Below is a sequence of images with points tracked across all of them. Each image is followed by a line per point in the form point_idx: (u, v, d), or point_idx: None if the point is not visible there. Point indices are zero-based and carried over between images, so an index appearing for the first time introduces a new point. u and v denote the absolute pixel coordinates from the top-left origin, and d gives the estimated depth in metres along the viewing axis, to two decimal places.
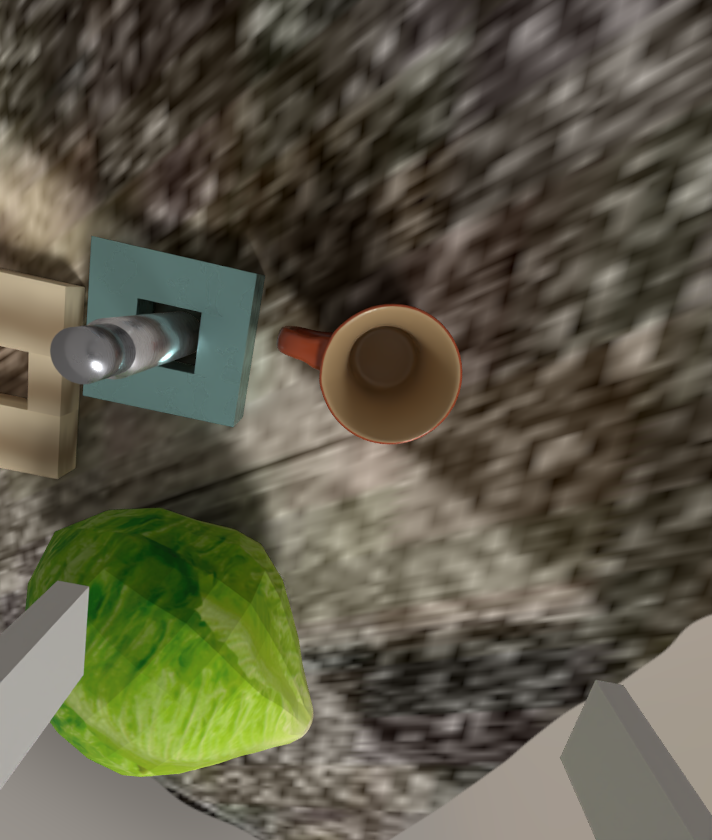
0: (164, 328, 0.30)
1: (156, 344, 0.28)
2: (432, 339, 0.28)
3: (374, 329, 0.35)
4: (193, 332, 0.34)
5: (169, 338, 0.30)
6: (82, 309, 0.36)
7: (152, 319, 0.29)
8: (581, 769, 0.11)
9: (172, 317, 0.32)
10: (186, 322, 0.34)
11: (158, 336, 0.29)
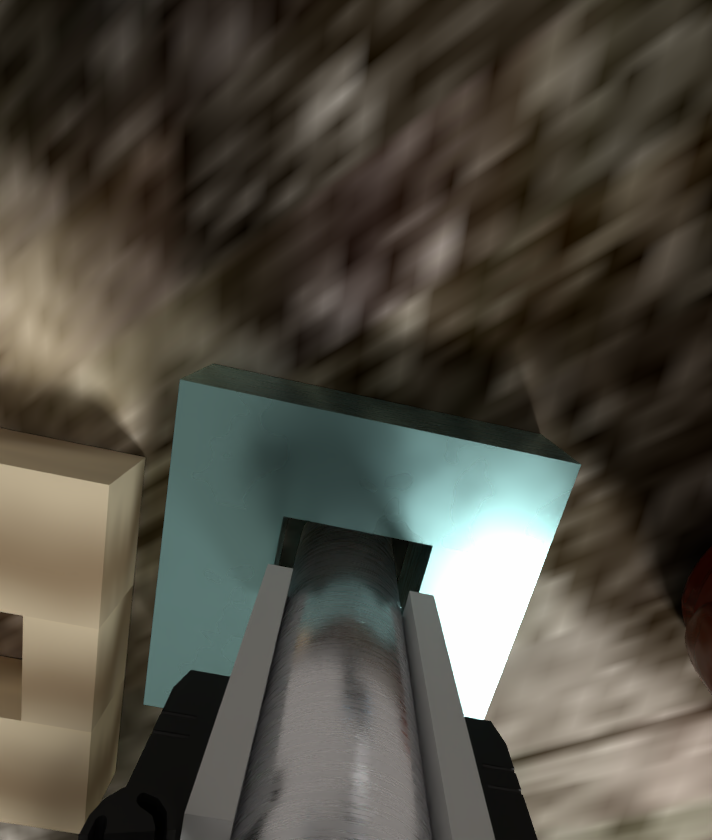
0: (403, 667, 0.11)
1: None
2: None
3: None
4: (395, 571, 0.15)
5: (410, 683, 0.11)
6: (138, 502, 0.17)
7: (379, 657, 0.10)
8: None
9: (375, 572, 0.13)
10: (387, 557, 0.15)
11: (417, 737, 0.09)
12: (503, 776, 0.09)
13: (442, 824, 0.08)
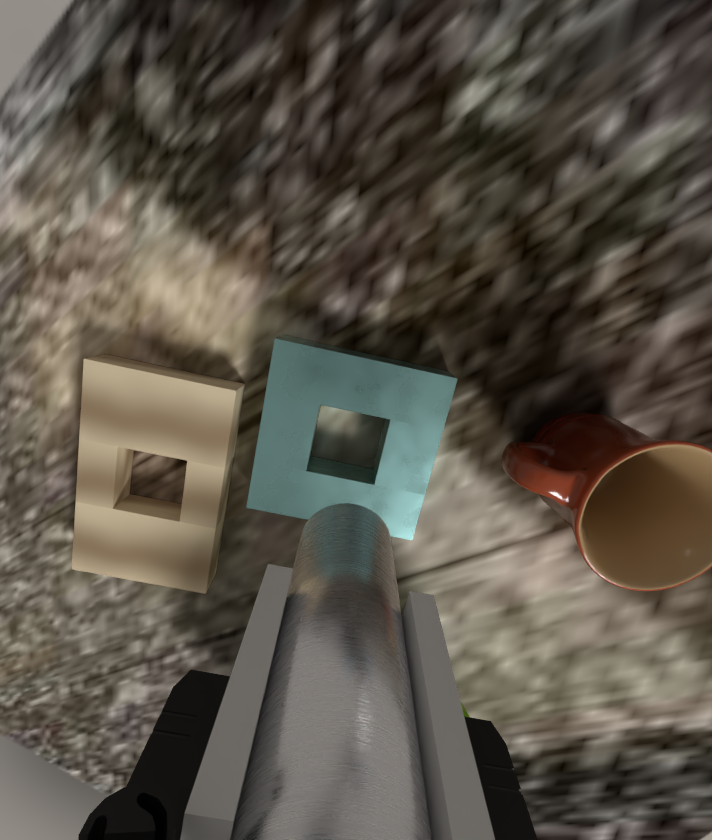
0: (402, 667, 0.11)
1: None
2: (697, 471, 0.24)
3: None
4: (395, 571, 0.15)
5: (410, 683, 0.11)
6: (240, 408, 0.32)
7: (379, 656, 0.10)
8: None
9: (375, 572, 0.13)
10: (387, 557, 0.15)
11: (416, 736, 0.09)
12: (503, 776, 0.09)
13: (442, 824, 0.08)
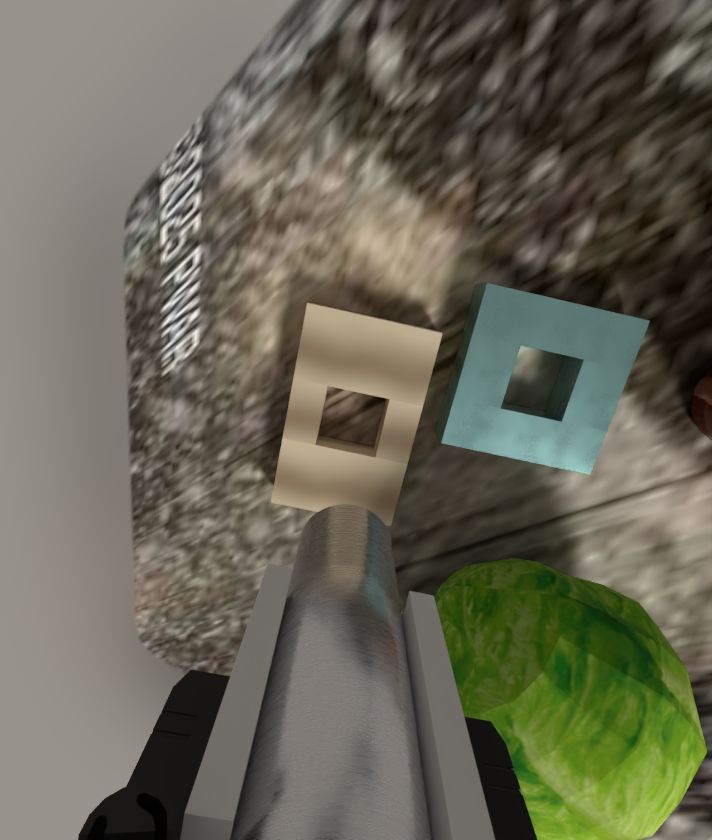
0: (403, 669, 0.11)
1: None
2: None
3: None
4: (394, 572, 0.15)
5: (410, 684, 0.11)
6: None
7: (379, 658, 0.10)
8: None
9: (374, 573, 0.13)
10: (386, 558, 0.15)
11: (416, 739, 0.09)
12: (503, 776, 0.09)
13: (442, 824, 0.08)
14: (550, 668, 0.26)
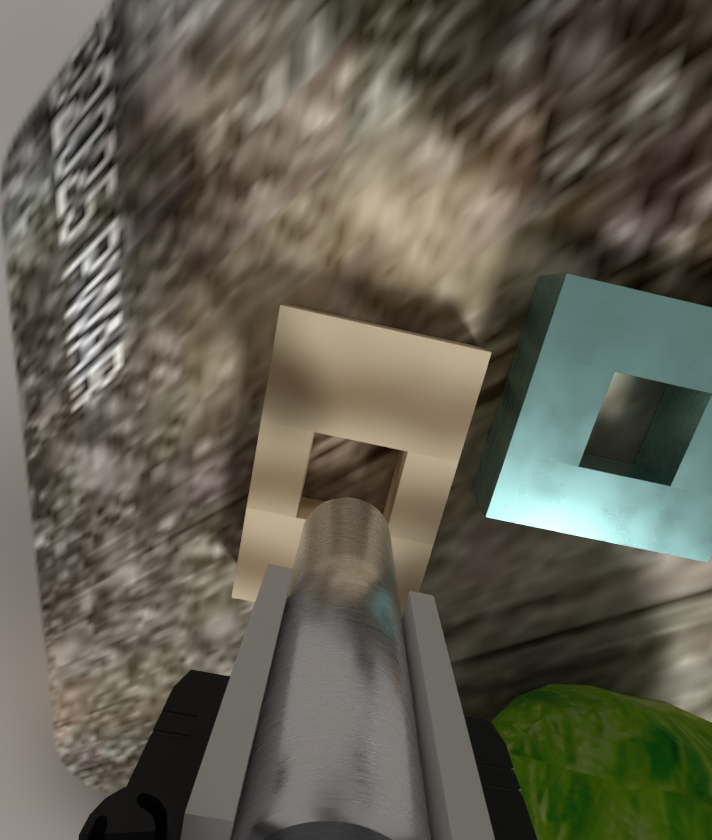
0: (400, 649, 0.11)
1: None
2: None
3: None
4: (393, 562, 0.16)
5: (407, 664, 0.11)
6: None
7: (377, 638, 0.11)
8: None
9: (374, 561, 0.14)
10: (385, 548, 0.15)
11: (413, 712, 0.10)
12: (502, 776, 0.09)
13: (442, 824, 0.08)
14: None
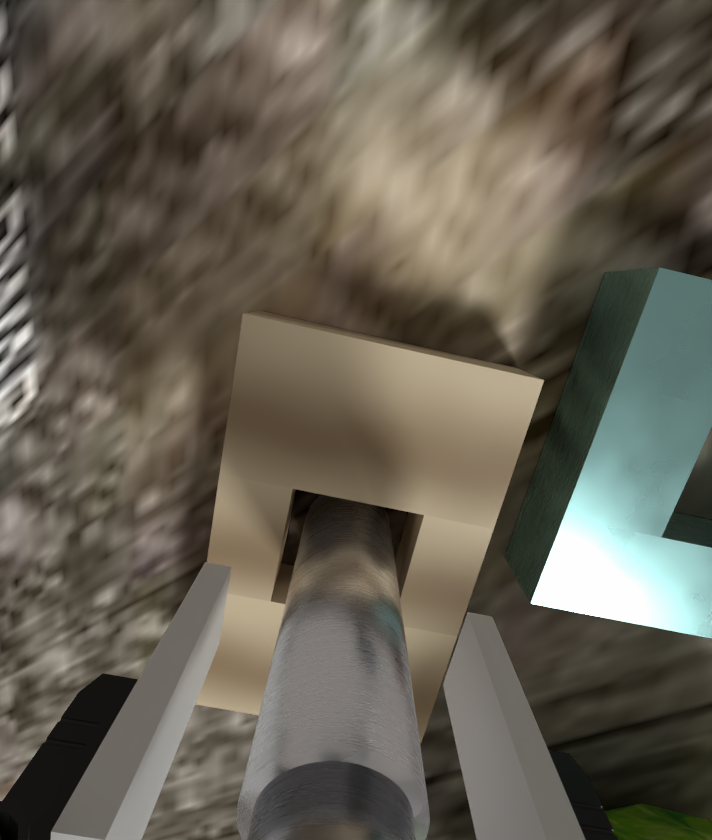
0: (398, 623, 0.12)
1: None
2: None
3: None
4: (392, 547, 0.17)
5: None
6: None
7: (377, 611, 0.12)
8: (453, 689, 0.13)
9: (374, 545, 0.15)
10: (385, 534, 0.16)
11: (410, 678, 0.11)
12: (593, 816, 0.09)
13: None
14: None
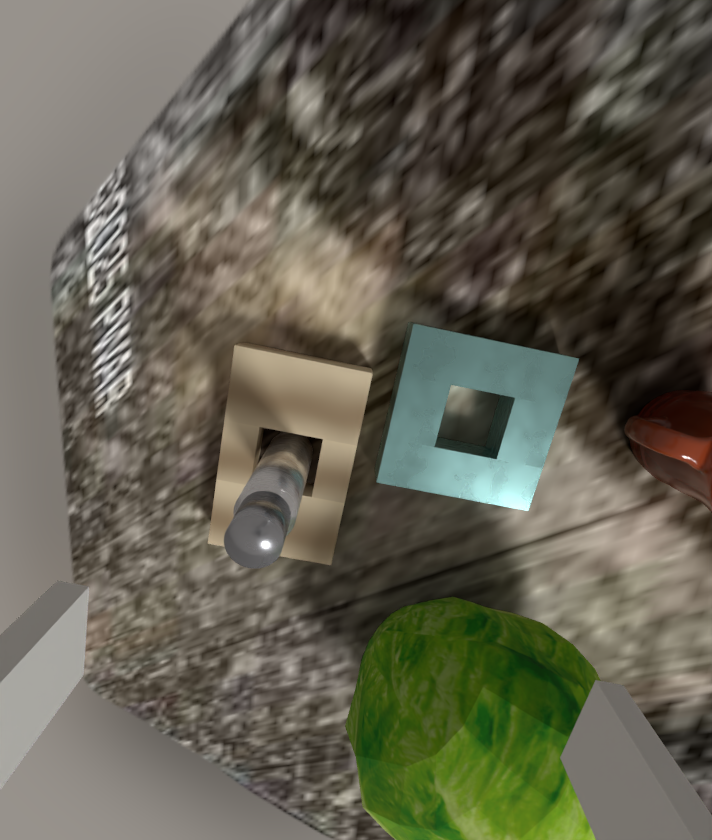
0: (299, 472, 0.29)
1: (300, 496, 0.28)
2: None
3: None
4: (310, 457, 0.34)
5: (303, 480, 0.30)
6: None
7: (289, 465, 0.29)
8: (581, 769, 0.11)
9: (296, 450, 0.32)
10: (304, 449, 0.33)
11: (300, 487, 0.28)
12: None
13: None
14: (471, 720, 0.25)
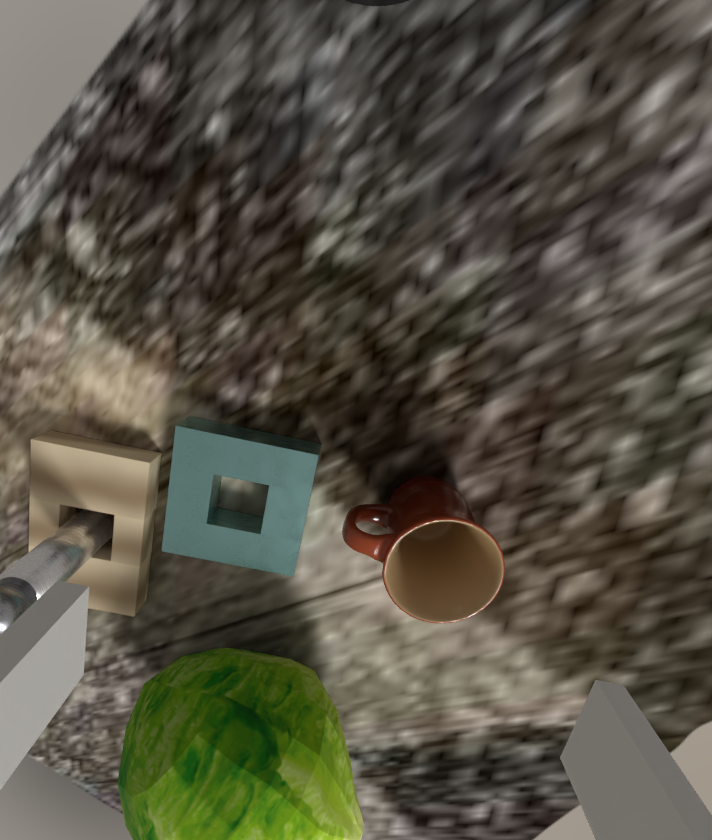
0: (71, 551, 0.35)
1: (60, 574, 0.34)
2: (477, 534, 0.33)
3: None
4: (107, 528, 0.40)
5: (77, 557, 0.36)
6: (159, 471, 0.41)
7: (60, 546, 0.35)
8: (581, 769, 0.11)
9: (84, 526, 0.38)
10: (100, 522, 0.39)
11: (63, 566, 0.34)
12: None
13: None
14: (180, 762, 0.32)
